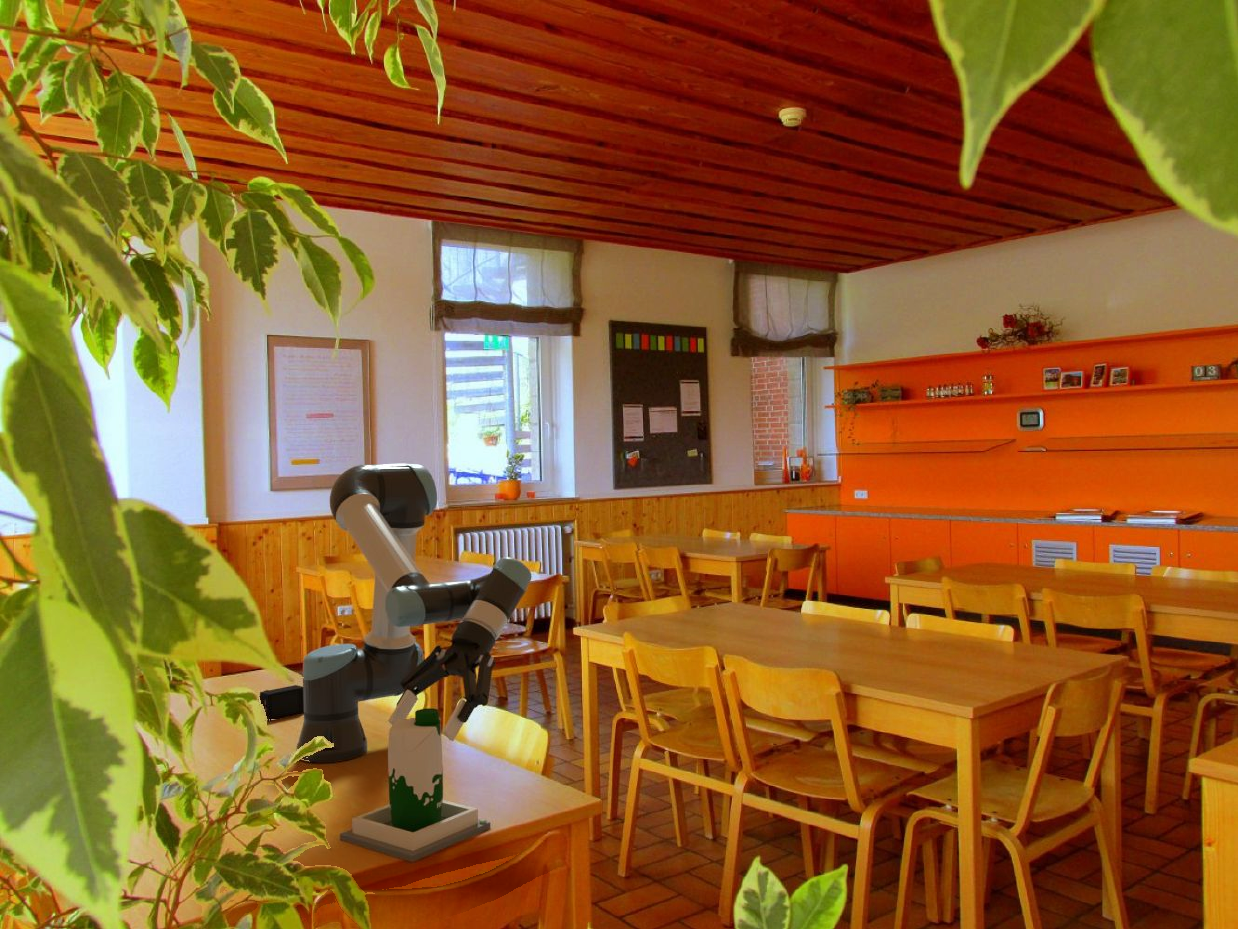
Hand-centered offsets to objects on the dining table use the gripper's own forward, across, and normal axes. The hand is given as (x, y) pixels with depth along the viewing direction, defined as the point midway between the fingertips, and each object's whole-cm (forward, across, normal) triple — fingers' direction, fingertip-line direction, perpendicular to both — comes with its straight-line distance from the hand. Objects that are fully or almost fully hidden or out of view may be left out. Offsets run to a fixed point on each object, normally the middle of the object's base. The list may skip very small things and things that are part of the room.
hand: (419, 731), depth 177 cm
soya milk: (+13, 0, -11) cm, 17 cm away
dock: (+13, 0, -11) cm, 17 cm away
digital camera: (-14, +93, -39) cm, 102 cm away
